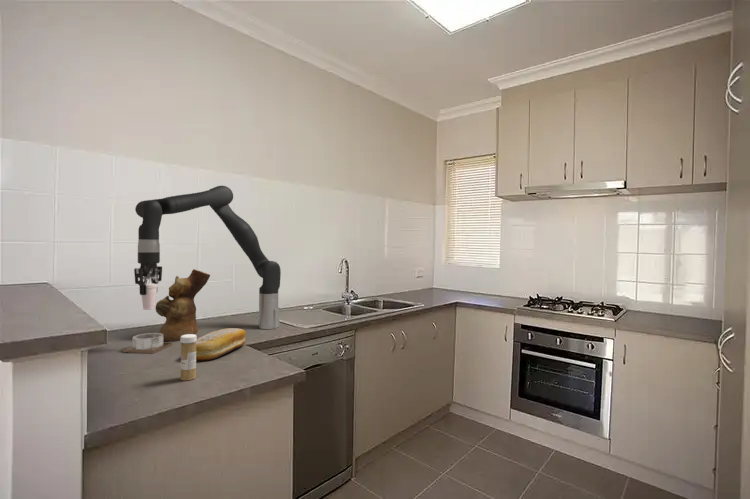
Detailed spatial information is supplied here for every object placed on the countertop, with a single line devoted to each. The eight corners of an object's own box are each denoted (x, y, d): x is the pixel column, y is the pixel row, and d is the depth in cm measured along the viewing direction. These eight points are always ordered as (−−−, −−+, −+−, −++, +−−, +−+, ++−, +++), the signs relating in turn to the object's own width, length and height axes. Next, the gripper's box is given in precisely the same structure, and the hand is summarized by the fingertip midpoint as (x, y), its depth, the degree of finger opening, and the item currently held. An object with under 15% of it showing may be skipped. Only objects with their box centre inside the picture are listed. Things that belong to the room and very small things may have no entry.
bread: (251, 344, 162) (251, 325, 162) (214, 364, 136) (214, 341, 135) (222, 342, 164) (222, 324, 164) (180, 361, 138) (180, 339, 138)
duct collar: (171, 345, 158) (171, 332, 158) (153, 353, 146) (153, 340, 146) (143, 344, 159) (143, 332, 159) (122, 352, 147) (122, 339, 147)
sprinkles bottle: (177, 378, 120) (177, 335, 120) (192, 374, 124) (192, 332, 123) (184, 382, 117) (184, 337, 117) (199, 378, 121) (199, 335, 120)
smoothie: (161, 308, 154) (161, 273, 154) (147, 310, 148) (147, 274, 148) (149, 307, 157) (149, 272, 156) (135, 309, 151) (135, 273, 150)
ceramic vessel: (156, 335, 174) (156, 268, 174) (208, 330, 184) (209, 267, 184) (154, 343, 160) (154, 271, 160) (211, 338, 170) (211, 270, 170)
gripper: (146, 251, 145) (146, 296, 145) (168, 250, 159) (168, 291, 159) (126, 251, 145) (127, 296, 145) (151, 250, 159) (151, 291, 160)
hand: (148, 293), depth 152 cm, fingers closed on smoothie, 6 cm apart
